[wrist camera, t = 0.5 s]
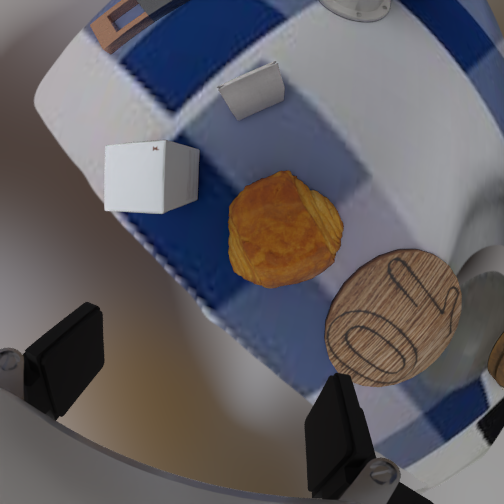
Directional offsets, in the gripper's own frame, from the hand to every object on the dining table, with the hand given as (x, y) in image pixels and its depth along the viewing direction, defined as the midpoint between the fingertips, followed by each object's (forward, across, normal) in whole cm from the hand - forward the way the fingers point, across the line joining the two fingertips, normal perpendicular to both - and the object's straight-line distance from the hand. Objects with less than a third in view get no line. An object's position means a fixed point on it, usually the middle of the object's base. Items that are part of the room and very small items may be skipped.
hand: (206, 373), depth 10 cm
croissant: (+30, -3, -1) cm, 31 cm away
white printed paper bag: (+30, +5, -17) cm, 35 cm away
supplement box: (+30, +13, -4) cm, 33 cm away
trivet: (+31, -26, +9) cm, 41 cm away
